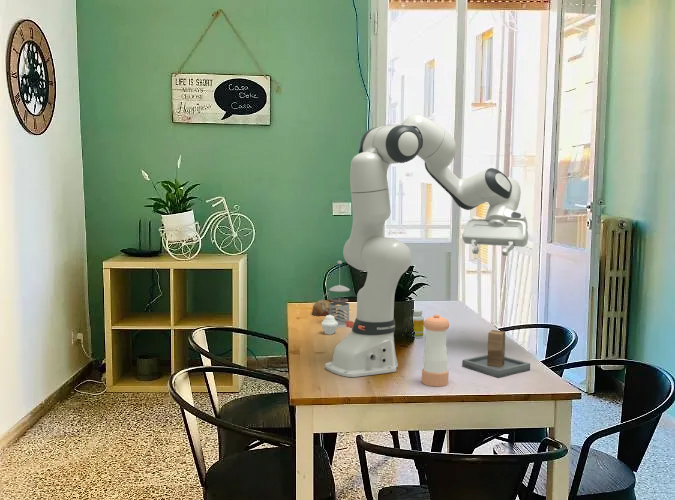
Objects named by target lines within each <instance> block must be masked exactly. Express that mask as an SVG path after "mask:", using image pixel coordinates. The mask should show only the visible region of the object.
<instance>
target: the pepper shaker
mask: <svg viewBox="0 0 675 500" xmlns="http://www.w3.org/2000/svg"><path fill="white" fill-rule="evenodd" d="M449 328H450V322H449V320H448V319H447V318H445V317H443V316H441V315H439V314H438V313H435V314H434V315H433V316H429V317H427V318H425V319H424V329H426V331H425V332H426V333H425V334H426V335H425V347H424V353H423V357H422V358H423V366H422V367H423V368H422V369H421V383H422V384H423V385H426V386H430V387H444V386H445V387H446V386H448V384H449V374H450V373H449V370H448V362H449V356H448V349H447V330H449Z"/></svg>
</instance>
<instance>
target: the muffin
mask: <svg viewBox="0 0 675 500" xmlns="http://www.w3.org/2000/svg"><path fill="white" fill-rule="evenodd" d="M334 316H335V315H334ZM334 316H332V315H327V316H326V317H324V319H323V320H322V321H321V324H320V326H321V327H322V330H323V332H324V334H325V335H334V334H335V333H336V331H337V329H338V327H337V326H338V322H337V321H336V320H335V318H334Z"/></svg>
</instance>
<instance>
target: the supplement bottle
mask: <svg viewBox="0 0 675 500" xmlns="http://www.w3.org/2000/svg"><path fill="white" fill-rule="evenodd" d="M413 310H414V316H413V323H414V331H415V335H414V336H415V338H414V339H422V338H423V337H424V329H425V327H424V321H425V318H424V316H423V310H422V309H417V308H416V309H413Z"/></svg>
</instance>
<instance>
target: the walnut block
mask: <svg viewBox="0 0 675 500" xmlns="http://www.w3.org/2000/svg"><path fill="white" fill-rule="evenodd" d="M505 350H506V331H504V330H495V329H492V330H490V331H489V332H488V333H487V355H488V358H487V366H493V367H500V368H501V367H502V366H503V365H504V358H505V354H506V351H505Z"/></svg>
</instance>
